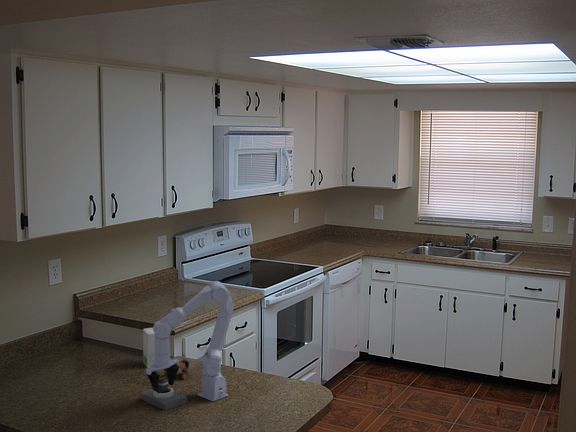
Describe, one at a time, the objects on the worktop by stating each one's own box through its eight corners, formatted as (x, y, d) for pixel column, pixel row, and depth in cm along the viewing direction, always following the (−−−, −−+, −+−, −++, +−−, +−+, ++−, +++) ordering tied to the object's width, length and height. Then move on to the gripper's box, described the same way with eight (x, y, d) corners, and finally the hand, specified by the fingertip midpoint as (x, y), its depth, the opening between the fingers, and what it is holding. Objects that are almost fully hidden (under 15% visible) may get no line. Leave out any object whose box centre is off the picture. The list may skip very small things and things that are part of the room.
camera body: (187, 402, 253) (186, 392, 252) (165, 410, 246) (165, 400, 245) (162, 391, 264) (161, 381, 263) (140, 398, 257) (140, 388, 256)
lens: (167, 391, 257) (167, 376, 256) (169, 395, 253) (168, 380, 252) (157, 392, 256) (156, 377, 255) (158, 396, 252) (157, 381, 251)
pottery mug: (182, 384, 273) (171, 367, 272) (167, 389, 279) (157, 372, 278) (198, 368, 283) (188, 351, 282) (184, 373, 288) (174, 357, 288)
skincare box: (143, 362, 298) (142, 328, 296) (157, 360, 300) (156, 326, 298) (147, 368, 290) (146, 333, 288) (162, 366, 293) (161, 331, 291)
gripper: (169, 346, 261) (170, 379, 262) (140, 355, 249) (141, 390, 251) (182, 349, 256) (183, 383, 258) (152, 359, 245) (153, 395, 247)
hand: (163, 387), depth 254 cm, fingers open, 7 cm apart
